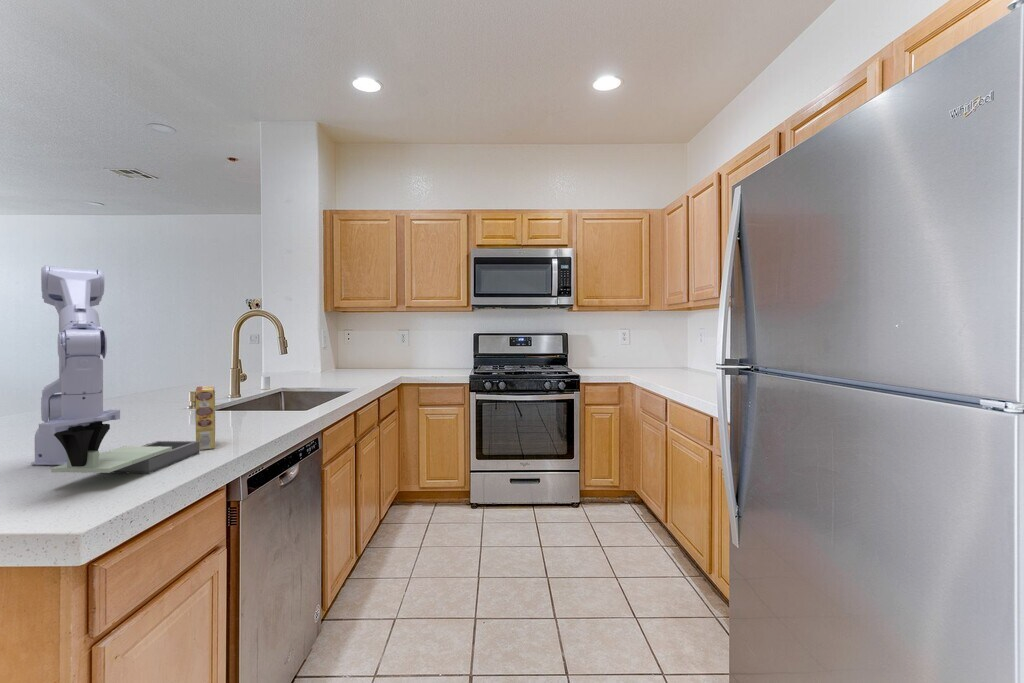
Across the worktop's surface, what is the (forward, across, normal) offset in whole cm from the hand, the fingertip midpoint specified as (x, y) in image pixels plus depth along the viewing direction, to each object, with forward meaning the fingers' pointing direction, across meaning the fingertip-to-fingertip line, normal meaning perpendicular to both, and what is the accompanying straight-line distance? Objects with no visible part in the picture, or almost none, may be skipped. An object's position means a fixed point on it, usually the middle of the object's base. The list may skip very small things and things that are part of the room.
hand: (82, 464), depth 86 cm
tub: (+5, +18, 0) cm, 18 cm away
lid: (+1, +8, 0) cm, 8 cm away
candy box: (+5, +32, -2) cm, 33 cm away
